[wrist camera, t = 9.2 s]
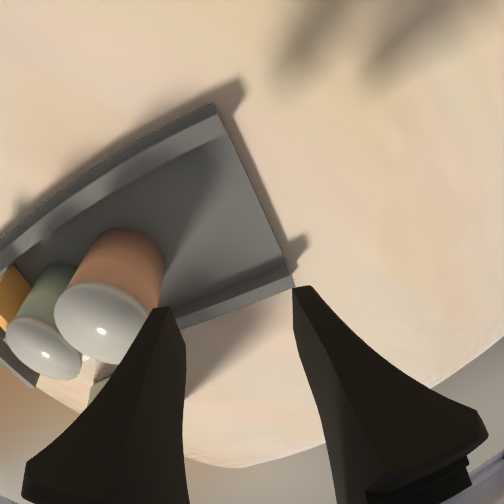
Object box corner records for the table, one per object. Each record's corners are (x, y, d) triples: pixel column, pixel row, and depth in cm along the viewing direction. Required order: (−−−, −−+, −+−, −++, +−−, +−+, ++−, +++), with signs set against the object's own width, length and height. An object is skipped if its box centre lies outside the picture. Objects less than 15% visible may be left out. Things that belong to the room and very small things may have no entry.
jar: (74, 247, 16) (36, 308, 12) (137, 211, 16) (107, 272, 11) (119, 304, 19) (100, 371, 14) (182, 279, 19) (174, 350, 14)
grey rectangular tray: (-36, 277, 17) (-55, 303, 14) (213, 102, 14) (211, 108, 11) (44, 363, 23) (34, 391, 20) (291, 274, 20) (304, 312, 17)
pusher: (6, 269, 16) (-24, 312, 12) (13, 264, 16) (-18, 308, 12) (71, 342, 21) (55, 388, 17) (79, 339, 21) (64, 386, 17)
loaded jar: (27, 278, 17) (-6, 335, 12) (68, 249, 16) (31, 312, 12) (71, 325, 20) (50, 385, 15) (116, 305, 19) (96, 372, 14)
